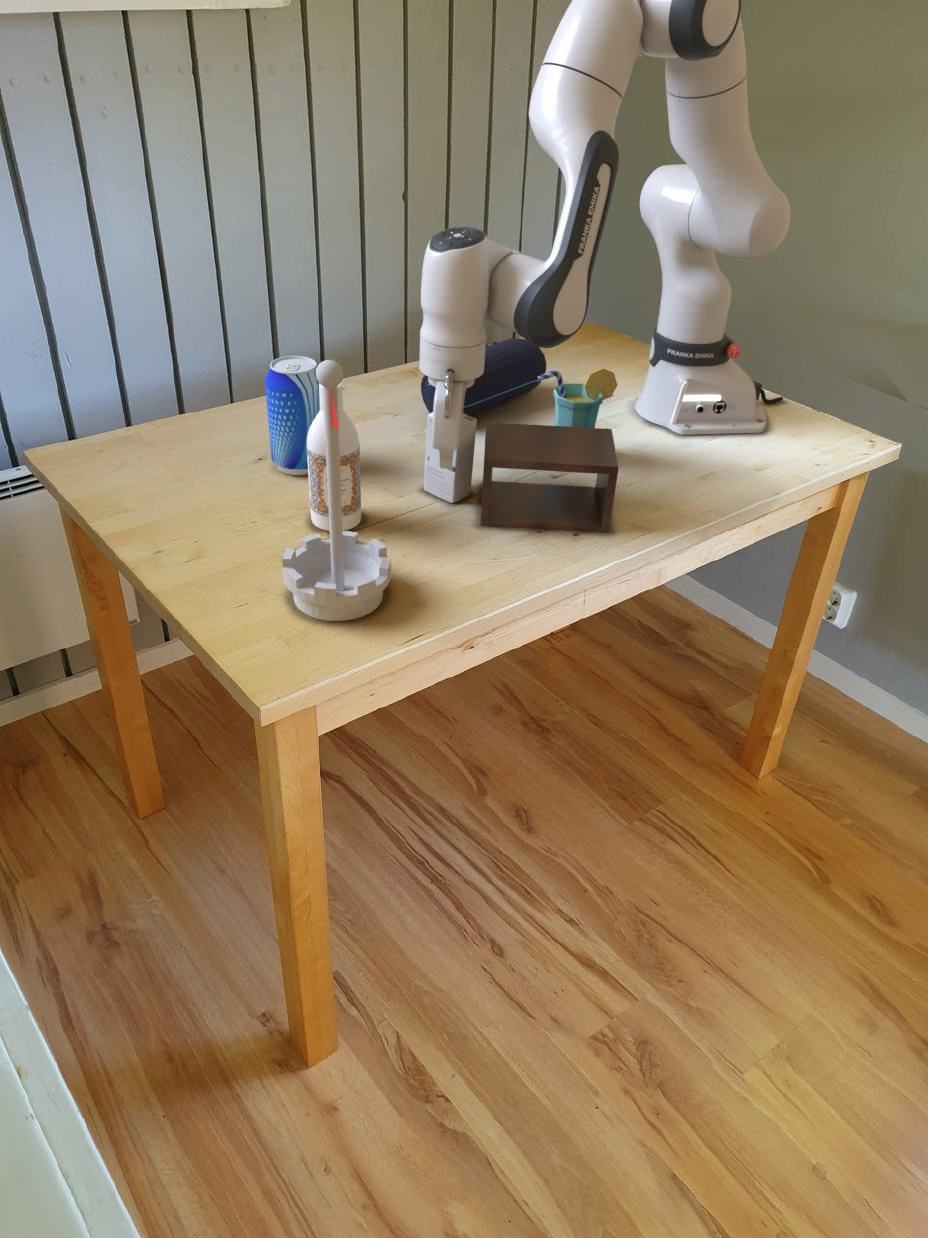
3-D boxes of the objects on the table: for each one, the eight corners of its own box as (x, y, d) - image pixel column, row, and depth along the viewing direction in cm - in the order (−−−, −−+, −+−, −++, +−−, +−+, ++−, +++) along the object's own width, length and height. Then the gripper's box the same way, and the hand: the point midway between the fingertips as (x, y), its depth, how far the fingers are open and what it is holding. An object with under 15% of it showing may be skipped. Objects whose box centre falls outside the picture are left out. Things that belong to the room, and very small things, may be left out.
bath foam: (313, 535, 130) (305, 395, 118) (308, 510, 136) (300, 374, 124) (364, 531, 131) (361, 393, 120) (357, 506, 137) (354, 371, 125)
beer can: (260, 464, 146) (251, 362, 137) (303, 447, 151) (297, 348, 142) (296, 483, 142) (288, 379, 132) (339, 465, 147) (335, 364, 137)
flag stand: (278, 572, 122) (259, 342, 105) (379, 561, 126) (376, 335, 108) (292, 632, 112) (273, 389, 95) (401, 618, 115) (403, 380, 98)
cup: (542, 475, 147) (551, 382, 138) (516, 454, 152) (523, 363, 144) (616, 458, 153) (629, 368, 144) (588, 439, 158) (599, 350, 149)
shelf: (602, 491, 144) (611, 428, 138) (609, 532, 134) (618, 467, 128) (482, 484, 144) (486, 421, 138) (480, 525, 134) (484, 459, 128)
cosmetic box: (422, 490, 142) (423, 413, 134) (441, 480, 144) (444, 404, 137) (454, 505, 138) (457, 427, 131) (473, 494, 141) (477, 417, 134)
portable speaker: (508, 379, 178) (512, 326, 172) (549, 396, 172) (555, 341, 166) (409, 416, 163) (409, 359, 157) (451, 435, 157) (453, 377, 151)
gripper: (472, 388, 121) (467, 486, 129) (477, 333, 137) (472, 423, 146) (422, 385, 121) (420, 483, 129) (433, 331, 138) (431, 421, 146)
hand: (447, 451), depth 137 cm, fingers open, 8 cm apart
